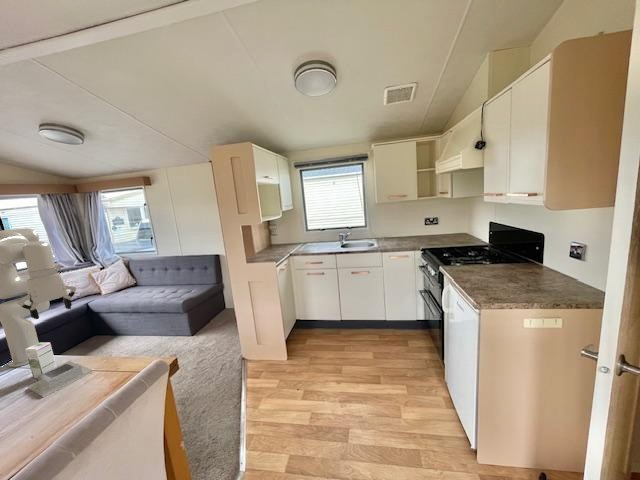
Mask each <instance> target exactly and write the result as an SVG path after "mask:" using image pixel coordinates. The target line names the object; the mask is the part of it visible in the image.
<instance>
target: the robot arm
mask: <svg viewBox="0 0 640 480" xmlns="http://www.w3.org/2000/svg"><path fill="white" fill-rule="evenodd" d="M24 262H25V264H26V268H27V272H28V274H24V275H19V274H18V271H17V268H16V266H15V265H13V264H18V263H24ZM61 270H62V268H61V266H60V267H57V266H56V264H55V259H54V255H53V250H52V246H51V245H50V243H49V242H45V241H41V240H40V237H39V234H38V232H37V231H36V230H34V229H33V228H15V229H6V230H5V229H4V230H0V299H1V300H5V299H11V298H14V299H13V300H8V301H6V302H2V303H0V324H1V326H2V329H3V331H4V335H5V338H6V343H7V346H8V349H9V352H10V353H9V354H10V357H11V359H12V360H11V361H9V362H8V364H7V365H8V367H9V368H17V367H22V366H26V365H29V361H28V358H27V354H26V351H25V349H27V348H29V347H31V346H33V345H35V344H37V343H40V342H39V339H38V338H39V337H38V335H37V334H38V333H37V331H36V328H35V327H36V326H35V324H34V323H33V321H31V320H29V319H26V317H29V316H30V317H31V318H32V319H35V320H39V319H40V316H39V313H42V312H44V311H47V310H49V308H50V306H51V305H50V301H54V300H56V299H61V298H63V303H64V308H65V309H67V310H70V309H72V308H71V307H72V305H73V303H72V298H73V297H74V295H75V293H76V291H77V286H69V285H65V283H64V280H63V278H62V276H61V274H60V273H59V271H61ZM67 290H70V292H68V293H67ZM20 296H23V297H20ZM15 297H20V298H16V299H15ZM12 361H13V362H12ZM10 362H11V363H10Z"/></svg>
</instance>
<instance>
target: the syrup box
mask: <svg viewBox="0 0 640 480" xmlns="http://www.w3.org/2000/svg"><path fill="white" fill-rule="evenodd" d="M52 348H53V347H52V344H51V342H39V343H37V344H35V345H33V346H31V347H29V348H27V349H25V351H26V354H27V358H28V361H29V364H28V365H29V367H30V371H31V373H32V378H33V379H38V378H37V375H40V374H42V373H44V372H46V371H48V370H51V369H53V368H55V367H57V363H56V359H55V355H54V351H53V349H52Z"/></svg>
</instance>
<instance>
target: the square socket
mask: <svg viewBox="0 0 640 480" xmlns="http://www.w3.org/2000/svg"><path fill="white" fill-rule="evenodd" d="M56 366H57V365H56ZM92 373H93V369H92V368H89V367H87V366H85V365H82V364H81V363H80V364H79V363H76V362H73V361H71V360H69V361H66V362H64V363H61V364H59V365H58V366H57V367H55V368H53V369H51V370H48V371H46V372H44V373H42V374H40V375H37V378H36V379H37V381H36V382H34V383H31V384H29V385H28V386H27V388H28V389H29V390H30V391H32V392H33V393H35V394H36V395H38V396H40V397H41V398H45V397H47V396H49V395H51V394H53V393H55V392H57V391H59V390H61V389H63V388H65V387H66V386H68V385H70V384H73V383H75V382H77V381H79V379H82V378H84V377H86V376H89V374H92Z"/></svg>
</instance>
